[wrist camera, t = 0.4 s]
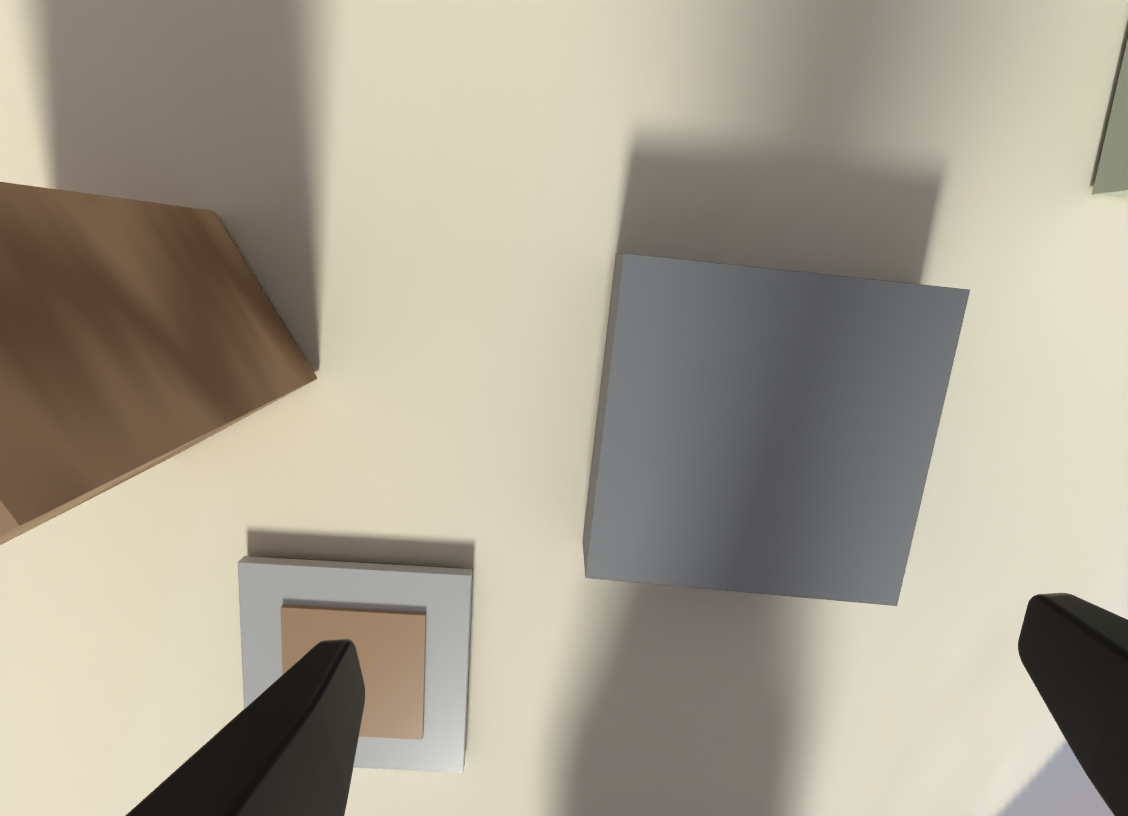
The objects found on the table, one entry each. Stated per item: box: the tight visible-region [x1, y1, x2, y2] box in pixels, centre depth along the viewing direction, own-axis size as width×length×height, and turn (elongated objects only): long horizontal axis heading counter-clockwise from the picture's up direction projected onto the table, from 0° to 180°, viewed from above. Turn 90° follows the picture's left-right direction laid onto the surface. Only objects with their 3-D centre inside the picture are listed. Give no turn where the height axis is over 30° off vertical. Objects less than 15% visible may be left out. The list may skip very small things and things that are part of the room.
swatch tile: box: [238, 556, 472, 773], centre depth 24 cm, size 8×8×1 cm
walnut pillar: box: [0, 182, 317, 545], centre depth 16 cm, size 6×6×12 cm
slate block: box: [583, 253, 970, 606], centre depth 21 cm, size 10×10×3 cm
